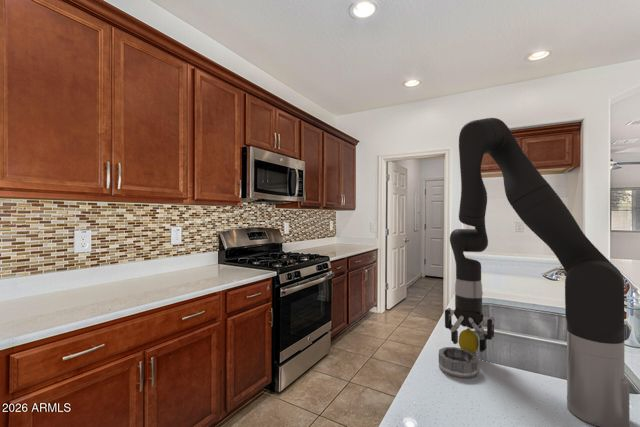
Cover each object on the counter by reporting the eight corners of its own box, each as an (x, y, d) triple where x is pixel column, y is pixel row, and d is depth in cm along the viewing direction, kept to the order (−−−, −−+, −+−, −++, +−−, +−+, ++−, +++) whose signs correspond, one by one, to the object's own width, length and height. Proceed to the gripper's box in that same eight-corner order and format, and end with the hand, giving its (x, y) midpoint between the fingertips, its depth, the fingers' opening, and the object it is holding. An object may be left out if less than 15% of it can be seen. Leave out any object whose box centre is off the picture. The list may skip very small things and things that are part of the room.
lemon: (475, 360, 90) (475, 333, 90) (456, 355, 94) (456, 329, 94) (480, 354, 94) (480, 328, 94) (462, 349, 98) (462, 324, 98)
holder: (476, 364, 88) (476, 350, 88) (478, 381, 79) (478, 366, 79) (439, 358, 92) (439, 344, 92) (437, 373, 83) (437, 358, 83)
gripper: (440, 291, 96) (440, 343, 96) (490, 300, 86) (490, 359, 86) (449, 287, 102) (449, 337, 102) (498, 295, 92) (498, 350, 92)
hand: (468, 347), depth 94 cm, fingers open, 7 cm apart
